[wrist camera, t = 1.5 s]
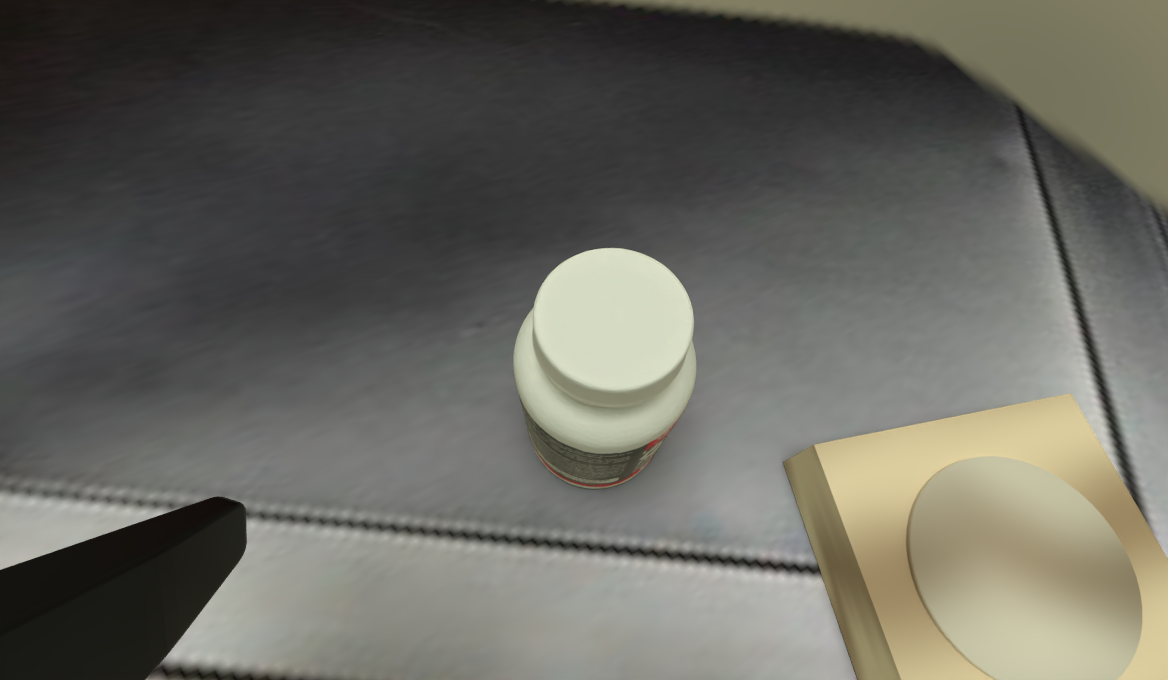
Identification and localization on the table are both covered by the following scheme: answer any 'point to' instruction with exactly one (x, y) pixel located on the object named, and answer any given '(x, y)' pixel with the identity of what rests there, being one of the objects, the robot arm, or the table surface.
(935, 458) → the pedestal
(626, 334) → the pill bottle
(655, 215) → the table surface
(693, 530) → the table surface
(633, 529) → the table surface
